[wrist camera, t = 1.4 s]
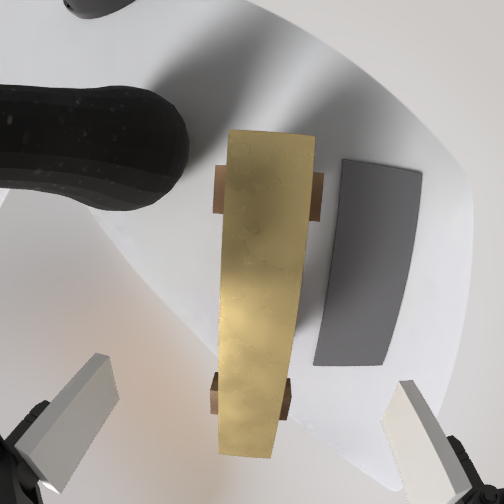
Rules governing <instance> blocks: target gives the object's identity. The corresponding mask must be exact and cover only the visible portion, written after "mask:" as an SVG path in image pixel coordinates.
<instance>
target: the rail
mask: <svg viewBox="0 0 504 504" xmlns="http://www.w3.org/2000/svg"><path fill="white" fill-rule="evenodd" d="M314 152H315V136H310V135H301V134H291V133H280V132H267V131H251V130H229V136H228V150H227V164H226V179H225V196H224V213H223V233H222V255H221V281H220V313H219V367H218V368H219V369H218V371H219V372H218V429H219V430H218V435H219V454H223V455H232V456H243V457H253V458H271V454H272V449H273V445H274V440H275V435H276V431H277V426H278V421H279V416H280V411H281V406H282V401H283V396H284V390H285V385H286V380H287V374H288V368H289V362H290V357H291V351H292V344H293V338H294V332H295V325H296V319H297V312H298V305H299V298H300V290H301V283H302V275H303V267H304V259H305V250H306V242H307V232H308V223H309V213H310V202H311V191H312V179H313V166H314Z"/></svg>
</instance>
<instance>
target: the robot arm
mask: <svg viewBox="0 0 504 504" xmlns="http://www.w3.org/2000/svg"><path fill="white" fill-rule="evenodd" d="M63 1H64V5H65V6H66V8H67V9H68V10H69V11H70V12H71V13H73V14H74V15H76V16H77V17H79V18H83V19H93V18H98V17H102V16H105V15H108V14H110V13H113V12H115V11H117V10H119V9H121V8H123V7H125V6H126V5H128V4H130V3H131V2H133V1H134V0H63ZM118 401H119V395H118V392H117V388H116V384H115V380H114V376H113V371H112V367H111V363H110V358H109V356H106V355H102V354H99V353H95V354H94V355H93V357H91V359H90V360H89V361H88V362H87V363H86V364H85V365H84V366H83V367H82V368H81V369H80V370H79V372H78V373H77V374H76V375H75V376H74V377H73V378H72V379H71V380H70V381H69V383H68V384H67V385H66V386H65V387H64V388H63V390H61V391H60V393H59V394H58V395H57V396H56V397H55V398H54V399H53V400H52V402H48V401H46V400H44V401H43V402H41V403H39V404H37V405H36V406H35V407H34V408H33V409H32V410H31V411H30V413H29V414H27V416H26V417H25V418H24V420H22V421H21V422H20V423H19V425H18V426H17V427H16V428H15V429H14V430H13V431H12V433H11V434H10V435H9V436H8V437H7V438H6V439H5V440H3V438H2V437H1V435H0V504H43V501H42V497H41V493H40V488H39V486H38V484H37V482H38V481H39V479H40V480H41V481H42V483H44V485H45V486H46V487H48V488H50V489H51V490H53V491H55V492H57V493H58V494H61V493H62V491H63V490H64V488H65V486H66V485H67V483H68V481H69V479H70V478H71V476H72V474H73V473H74V471H75V469H76V468H77V466H78V464H79V463H80V461H81V460H82V458H83V456H84V455H85V453H86V451H87V449H88V448H89V447H90V445H91V443H92V442H93V440H94V438H95V437H96V435H97V434H98V432H99V430H100V429H101V427H102V426H103V424H104V423H105V421H106V419H107V418H108V416H109V415H110V413H111V411H112V410H113V408H114V407H115V405H116V404H117V402H118ZM381 425H382V427H383V430H384V432H385V435H386V438H387V440H388V443H389V446H390V448H391V451H392V454H393V457H394V459H395V462H396V465H397V468H398V471H399V474H400V477H401V479H402V482H403V485H404V488H405V491H406V494H407V498H408V501H409V504H504V488H502V489H497V488H496V487H494V486H492V485H484V483H483V482H482V480H481V479H480V477H479V475H478V473H477V471H476V469H475V467H474V465H473V463H472V462H471V460H470V459H469V456H468V454H467V453H466V452H465V449H464V447H463V445H462V444H461V442H460V441H459V440H458V439H456V438H455V437H454V436H453V435H452V436H448V437H446V436H445V434H444V432H443V430H442V429H441V427H440V425H439V423H438V422H437V420H436V418H435V416H434V415H433V413H432V411H431V410H430V408H429V406H428V404H427V403H426V401H425V399H424V398H423V396H422V394H421V393H420V391H419V390H418V388H417V386H416V385H415V383H414V381H413V380H408V381H399V382H398V385H397V387H396V390H395V392H394V394H393V396H392V399H391V401H390V403H389V405H388V408H387V410H386V412H385V414H384V416H383V418H382V420H381Z"/></svg>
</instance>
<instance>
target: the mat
mask: <svg viewBox="0 0 504 504" xmlns="http://www.w3.org/2000/svg"><path fill="white" fill-rule="evenodd" d="M421 183H422V174H421V173H416V172H412V171H407V170H402V169H397V168H392V167H387V166H382V165H376V164H370V163H364V162H358V161H352V160H345V159H343V161H342V174H341V186H340V197H339V207H338V216H337V225H336V233H335V241H334V249H333V256H332V263H331V270H330V276H329V283H328V289H327V295H326V301H325V306H324V312H323V317H322V323H321V328H320V333H319V338H318V343H317V348H316V353H315V357H314V362H313V366H375V365H382V364H383V361H384V358H385V356H386V353H387V350H388V346H389V343H390V340H391V337H392V334H393V330H394V327H395V323H396V320H397V316H398V313H399V309H400V305H401V301H402V297H403V293H404V289H405V285H406V280H407V276H408V271H409V266H410V261H411V256H412V250H413V245H414V239H415V233H416V226H417V219H418V211H419V203H420V193H421Z"/></svg>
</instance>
